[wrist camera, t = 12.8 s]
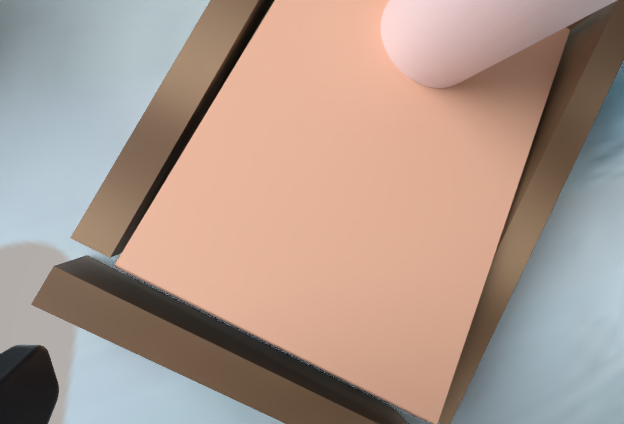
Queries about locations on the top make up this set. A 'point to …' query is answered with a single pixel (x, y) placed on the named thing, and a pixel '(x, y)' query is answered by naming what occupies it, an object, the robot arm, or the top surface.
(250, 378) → the frame
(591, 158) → the top surface
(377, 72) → the trapdoor
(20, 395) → the robot arm
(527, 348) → the top surface
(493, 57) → the smoothie
